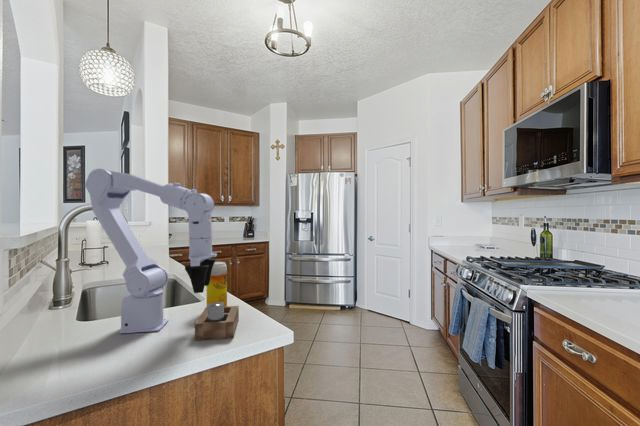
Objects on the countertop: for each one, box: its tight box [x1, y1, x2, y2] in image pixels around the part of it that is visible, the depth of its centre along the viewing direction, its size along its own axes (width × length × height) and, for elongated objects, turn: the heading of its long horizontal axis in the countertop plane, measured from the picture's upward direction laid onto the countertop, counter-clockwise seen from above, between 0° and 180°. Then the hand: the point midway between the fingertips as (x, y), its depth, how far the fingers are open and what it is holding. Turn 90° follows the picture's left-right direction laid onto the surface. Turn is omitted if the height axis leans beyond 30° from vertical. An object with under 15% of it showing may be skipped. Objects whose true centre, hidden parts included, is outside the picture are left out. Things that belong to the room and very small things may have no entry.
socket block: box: [194, 305, 240, 342], centre depth 81 cm, size 9×13×4 cm
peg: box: [206, 302, 224, 322], centre depth 78 cm, size 4×4×7 cm
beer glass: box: [206, 261, 228, 307], centre depth 96 cm, size 6×6×15 cm
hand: (201, 288), depth 82 cm, fingers open, 7 cm apart
